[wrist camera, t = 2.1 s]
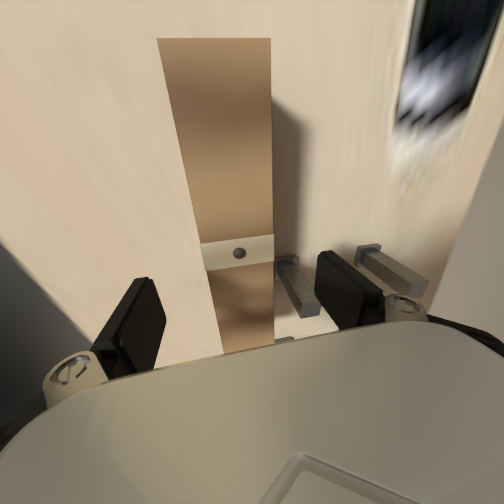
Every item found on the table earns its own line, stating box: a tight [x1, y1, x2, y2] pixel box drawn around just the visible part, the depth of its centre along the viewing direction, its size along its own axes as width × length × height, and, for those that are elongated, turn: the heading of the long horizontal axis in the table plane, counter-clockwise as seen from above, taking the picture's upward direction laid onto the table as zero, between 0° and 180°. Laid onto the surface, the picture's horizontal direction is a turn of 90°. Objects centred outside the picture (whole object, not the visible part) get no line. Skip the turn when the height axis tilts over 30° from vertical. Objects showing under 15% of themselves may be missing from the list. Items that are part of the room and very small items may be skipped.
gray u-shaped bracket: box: [274, 244, 429, 318], centre depth 19 cm, size 2×12×6 cm, turn 93°
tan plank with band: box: [157, 38, 274, 354], centre depth 15 cm, size 20×5×6 cm, turn 4°
